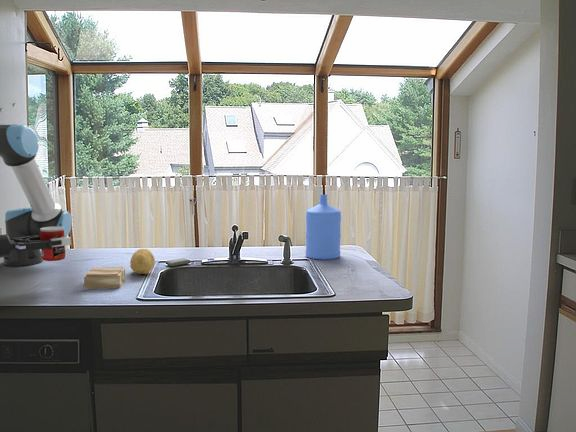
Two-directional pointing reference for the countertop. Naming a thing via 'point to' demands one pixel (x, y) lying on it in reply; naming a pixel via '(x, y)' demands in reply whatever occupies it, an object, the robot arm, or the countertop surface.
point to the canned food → (55, 252)
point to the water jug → (323, 231)
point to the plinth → (104, 278)
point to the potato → (142, 261)
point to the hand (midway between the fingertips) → (66, 238)
